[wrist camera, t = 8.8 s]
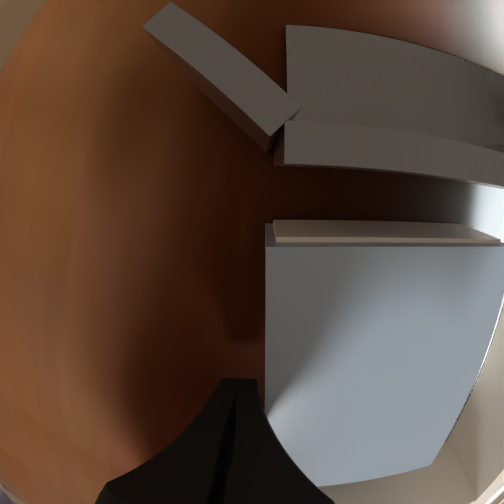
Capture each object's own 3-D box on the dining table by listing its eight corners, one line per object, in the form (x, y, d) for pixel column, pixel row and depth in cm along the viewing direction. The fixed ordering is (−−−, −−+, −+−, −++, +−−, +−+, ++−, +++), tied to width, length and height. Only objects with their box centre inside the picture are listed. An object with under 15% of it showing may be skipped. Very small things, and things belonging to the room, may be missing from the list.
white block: (409, 419, 15) (430, 465, 11) (263, 433, 15) (263, 489, 12) (458, 222, 12) (513, 243, 8) (265, 217, 12) (265, 241, 8)
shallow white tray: (452, 457, 16) (477, 509, 10) (220, 485, 16) (211, 555, 11) (542, 152, 10) (621, 161, 4) (196, 103, 11) (136, 49, 5)
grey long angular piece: (522, 192, 11) (607, 214, 5) (198, 167, 11) (134, 167, 5) (518, 85, 9) (598, 73, 3) (201, 30, 10) (156, -58, 4)
